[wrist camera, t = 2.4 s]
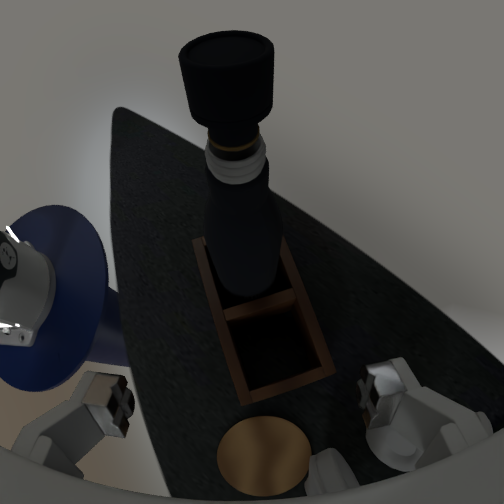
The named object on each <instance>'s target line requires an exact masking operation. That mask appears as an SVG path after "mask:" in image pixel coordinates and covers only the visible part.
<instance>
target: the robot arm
mask: <svg viewBox="0 0 504 504" xmlns="http://www.w3.org/2000/svg"><path fill="white" fill-rule="evenodd" d="M6 228H7V229H8V231H9V232H10V234H11V235H12V236H11V235H9V234H8V233H6V232H2V231H0V345H11V346H25V347H31V346H32V345H33V344H34V342H35V339H36V336H37V333H38V330H39V328H40V326H41V325H42V323H43V322H44V321H45V319H46V318H47V316H48V314H49V312H50V310H51V307H52V304H53V301H54V297H55V290H56V276H55V271H54V267H53V265H52V263H51V261H50V260H49V258H48V257H47V256H46V255H44V254H43V253H40V252H38V251H36V250H35V248H34V246H33V245H32V244H31V243H30V242H28V241H25V242H21V241H20V240H18V239H17V238H16V237H15V235H14V234H13V232H12V231H11V229H10V228H9V227H8V226H7V227H6ZM360 376H361V379H360V380H359V381H358V382H357V386H356V398H357V402H358V405H359V407H361V408H362V409H364V412H363V415H362V416H363V419H364V421H365V424H366V427H367V430H369V429H374V428H379V427H383V426H388V425H390V427H391V428H392V429H394V430H395V431H396V432H397V433H399V434H400V435H401V436H403V437H404V438H405V439H406V440H408V441H409V442H410V443H411V444H413V445H414V446H415V447H417V448H418V449H419V450H420V451H422V452H423V454H422V455H421V457H420V458H419V459H418V461H417V462H416V464H415V465H414V466H415V469H416V470H414V471H411V472H408V473H405V474H402V475H399V476H396V477H393V478H389V479H386V480H383V481H379V482H375V483H372V484H368V485H364V486H360V487H355V488H351V489H346V490H341V491H336V492H331V493H325V494H319V495H313V496H305V497H297V498H288V499H277V500H262V501H207V500H192V499H180V498H171V497H163V496H156V495H150V494H144V493H138V492H133V491H128V490H123V489H118V488H114V487H109V486H105V485H102V484H98V483H94V482H90V481H87V480H84V479H83V477H84V475H83V473H82V471H81V470H79V468H78V467H77V466H76V465H75V464H76V463H77V462H78V461H79V460H80V459H81V458H82V457H83V456H84V455H86V454H87V453H88V452H89V451H90V450H91V449H92V448H93V447H94V446H95V445H96V444H97V443H98V442H99V441H100V440H102V439H103V438H104V437H105V435H108V436H114V437H121V438H125V437H126V434H127V431H128V427H129V422H128V420H127V419H128V418H129V417H131V416H132V415H133V412H134V408H135V400H134V396H133V393H132V391H131V390H130V389H128V388H127V387H126V386H127V383H128V382H127V380H126V378H125V376H123V375H116V374H108V373H101V372H92V371H87V372H85V373H84V374H83V376H82V378H81V380H80V381H79V383H78V385H77V387H76V389H75V391H74V392H73V394H72V396H71V398H70V400H69V401H67V400H65V401H64V402H62V403H61V404H59V405H58V406H56V407H54V408H53V409H51V410H50V411H48V412H46V413H45V414H43V415H42V416H40V417H39V418H37V419H35V420H34V421H32V422H30V423H29V424H27V425H26V426H24V427H23V428H22V430H21V432H20V433H19V435H18V437H17V439H16V441H15V443H14V445H13V447H12V449H11V451H10V450H7V449H5V448H4V447H1V446H0V504H504V428H503V429H501V430H499V431H498V432H496V433H494V434H492V435H491V436H489V435H488V434H487V432H486V430H485V429H484V427H483V425H482V424H481V422H480V420H479V419H478V417H477V416H476V414H475V413H474V412H473V411H471V410H469V409H467V408H466V407H464V406H462V405H460V404H458V403H456V402H454V401H452V400H450V399H448V398H446V397H444V396H442V395H440V394H438V393H436V392H435V391H433V390H431V389H429V388H427V387H421V386H420V384H419V382H418V381H417V379H416V377H415V376H414V374H413V372H412V371H411V369H410V368H409V366H408V364H407V363H406V361H405V360H404V358H402V357H400V358H395V359H391V360H386V361H381V362H376V363H370V364H365V365H362V367H361V369H360Z"/></svg>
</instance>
